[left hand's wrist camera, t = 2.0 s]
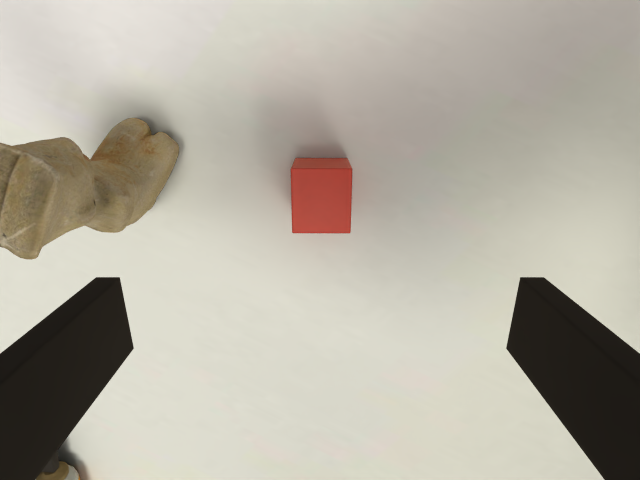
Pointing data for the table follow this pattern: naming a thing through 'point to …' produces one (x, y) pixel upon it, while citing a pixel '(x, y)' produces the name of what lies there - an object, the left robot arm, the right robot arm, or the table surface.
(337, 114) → the table surface
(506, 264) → the table surface
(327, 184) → the brick
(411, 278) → the table surface
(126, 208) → the sculpture
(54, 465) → the spray gun
